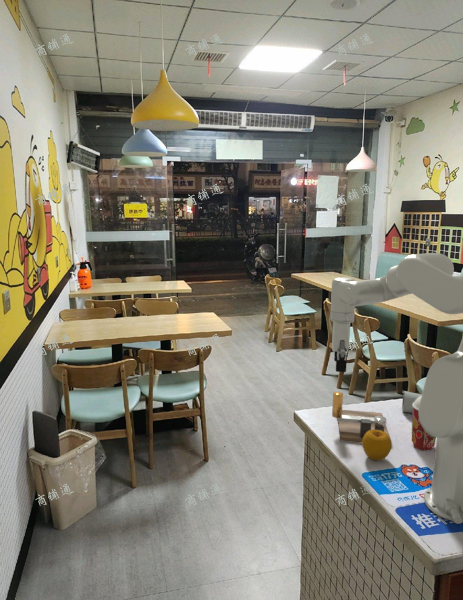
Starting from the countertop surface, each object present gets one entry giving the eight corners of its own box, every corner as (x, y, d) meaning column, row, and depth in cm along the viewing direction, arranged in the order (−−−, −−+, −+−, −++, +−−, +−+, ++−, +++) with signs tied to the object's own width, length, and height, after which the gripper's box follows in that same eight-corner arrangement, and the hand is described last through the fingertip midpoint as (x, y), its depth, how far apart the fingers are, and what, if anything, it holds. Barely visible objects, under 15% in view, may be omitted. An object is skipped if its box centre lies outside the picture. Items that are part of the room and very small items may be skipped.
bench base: (391, 445, 139) (392, 425, 137) (340, 440, 141) (341, 421, 140) (381, 416, 158) (382, 399, 156) (336, 413, 161) (337, 395, 159)
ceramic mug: (426, 418, 157) (428, 398, 155) (402, 415, 159) (404, 395, 158) (423, 406, 166) (425, 387, 165) (400, 403, 169) (402, 385, 168)
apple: (372, 468, 126) (374, 441, 124) (355, 453, 134) (356, 427, 132) (396, 463, 129) (398, 436, 127) (377, 448, 137) (379, 423, 135)
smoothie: (440, 454, 133) (446, 394, 129) (411, 451, 135) (417, 392, 131) (433, 440, 141) (439, 383, 137) (406, 438, 143) (411, 381, 139)
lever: (385, 421, 145) (387, 395, 143) (386, 427, 141) (389, 400, 139) (331, 417, 148) (333, 391, 146) (332, 422, 145) (333, 395, 143)
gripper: (329, 309, 147) (327, 357, 151) (331, 322, 131) (329, 375, 134) (352, 310, 146) (349, 358, 150) (357, 323, 129) (354, 376, 133)
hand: (339, 366), depth 142 cm, fingers open, 9 cm apart
